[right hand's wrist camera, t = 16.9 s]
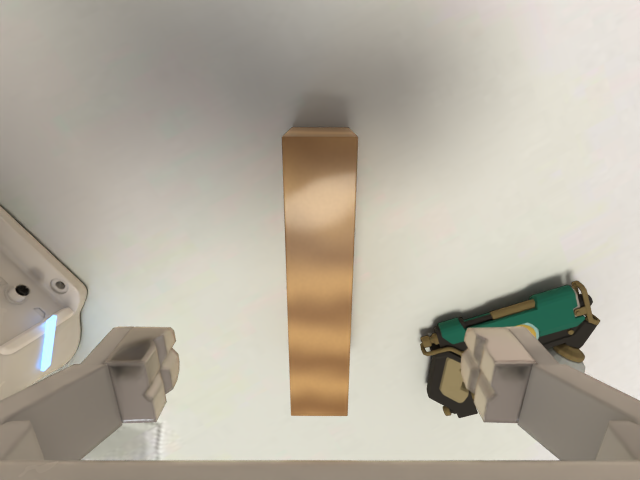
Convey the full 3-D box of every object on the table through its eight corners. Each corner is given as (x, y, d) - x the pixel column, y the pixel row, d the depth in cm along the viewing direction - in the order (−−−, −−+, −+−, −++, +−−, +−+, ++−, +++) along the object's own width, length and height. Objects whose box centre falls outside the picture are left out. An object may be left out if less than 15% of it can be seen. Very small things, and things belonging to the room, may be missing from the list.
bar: (291, 127, 32) (281, 136, 24) (349, 127, 32) (358, 136, 24) (296, 354, 40) (291, 415, 32) (342, 354, 40) (347, 416, 32)
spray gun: (419, 400, 43) (415, 284, 38) (572, 394, 41) (588, 271, 36) (427, 430, 39) (423, 304, 34) (596, 425, 37) (618, 291, 32)
